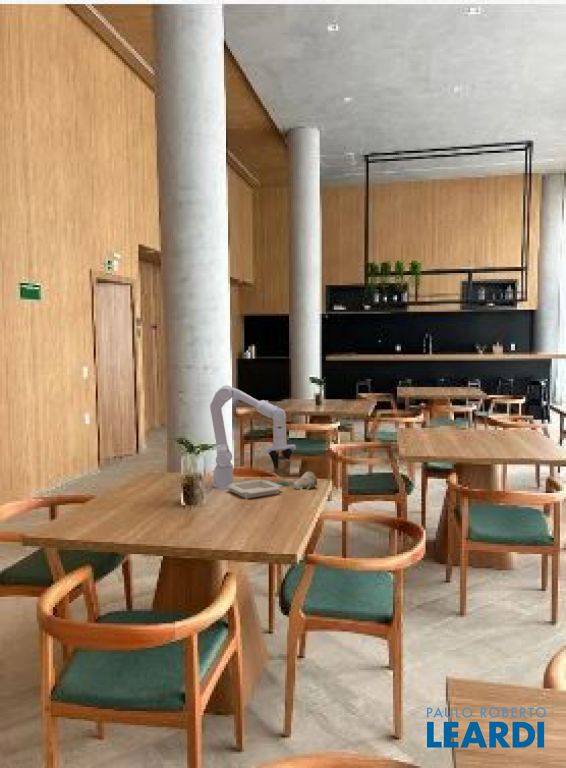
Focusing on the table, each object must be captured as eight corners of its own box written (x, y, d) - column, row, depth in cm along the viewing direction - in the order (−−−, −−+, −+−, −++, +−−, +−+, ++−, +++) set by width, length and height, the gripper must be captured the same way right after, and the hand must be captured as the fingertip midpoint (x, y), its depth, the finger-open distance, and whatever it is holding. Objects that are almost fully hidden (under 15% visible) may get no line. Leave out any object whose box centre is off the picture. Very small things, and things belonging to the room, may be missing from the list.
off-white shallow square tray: (223, 491, 256) (223, 484, 256) (263, 485, 265) (263, 478, 265) (244, 501, 237) (244, 494, 237) (286, 494, 247) (286, 487, 246)
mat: (268, 484, 266) (268, 483, 266) (284, 482, 270) (284, 481, 270) (277, 488, 259) (277, 487, 259) (293, 485, 263) (293, 484, 263)
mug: (289, 489, 257) (295, 467, 260) (308, 497, 260) (315, 475, 263) (296, 488, 250) (303, 466, 253) (316, 496, 253) (323, 474, 256)
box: (281, 477, 258) (281, 461, 257) (273, 472, 266) (273, 456, 264) (290, 476, 260) (290, 460, 259) (282, 471, 267) (282, 455, 266)
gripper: (269, 439, 256) (270, 470, 257) (298, 435, 263) (299, 466, 264) (261, 437, 262) (262, 468, 263) (290, 433, 269) (291, 464, 270)
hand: (280, 467), depth 264 cm, fingers closed on box, 4 cm apart
